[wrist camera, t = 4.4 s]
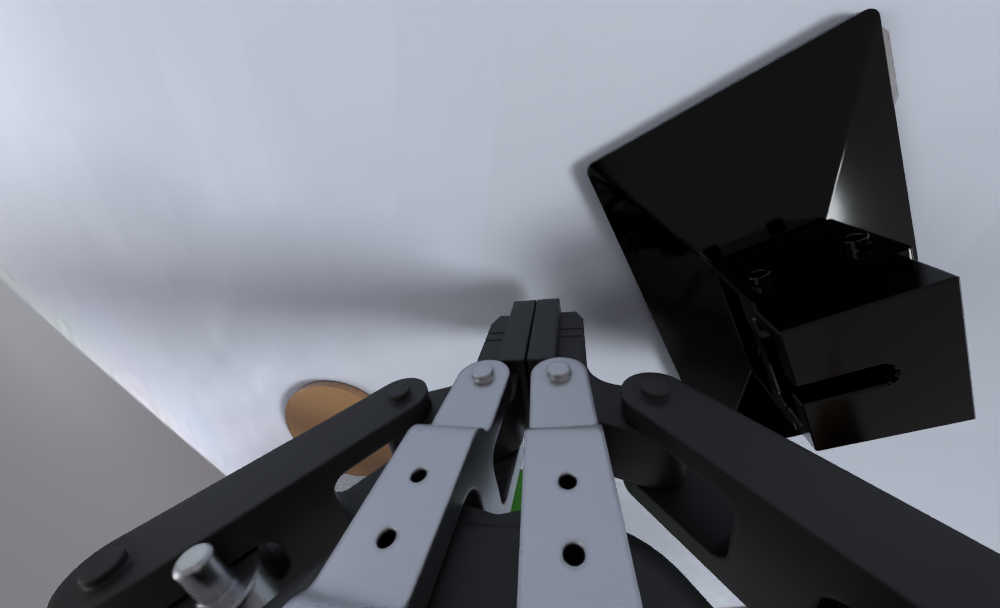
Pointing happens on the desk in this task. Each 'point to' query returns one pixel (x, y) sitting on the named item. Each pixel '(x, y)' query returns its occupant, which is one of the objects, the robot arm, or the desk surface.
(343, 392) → the coaster
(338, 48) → the desk surface
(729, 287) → the build plate
